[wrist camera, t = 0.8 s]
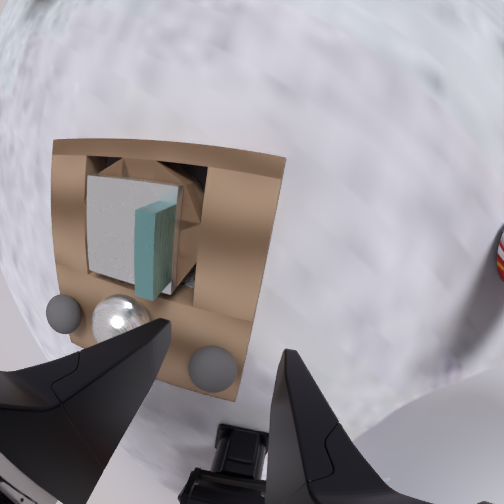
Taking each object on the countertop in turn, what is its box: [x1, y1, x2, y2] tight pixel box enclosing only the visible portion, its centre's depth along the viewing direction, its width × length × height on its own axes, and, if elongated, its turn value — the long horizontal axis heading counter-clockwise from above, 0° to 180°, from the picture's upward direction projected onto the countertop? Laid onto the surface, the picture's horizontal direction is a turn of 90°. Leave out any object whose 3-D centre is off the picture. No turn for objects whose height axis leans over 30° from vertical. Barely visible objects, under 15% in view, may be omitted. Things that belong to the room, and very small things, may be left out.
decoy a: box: [188, 346, 237, 393], centre depth 18 cm, size 4×4×4 cm
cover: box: [87, 174, 184, 301], centre depth 15 cm, size 7×7×3 cm
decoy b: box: [46, 294, 82, 334], centre depth 19 cm, size 4×4×4 cm
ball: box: [91, 294, 150, 343], centre depth 17 cm, size 4×4×4 cm
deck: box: [51, 138, 286, 402], centre depth 20 cm, size 20×18×2 cm
